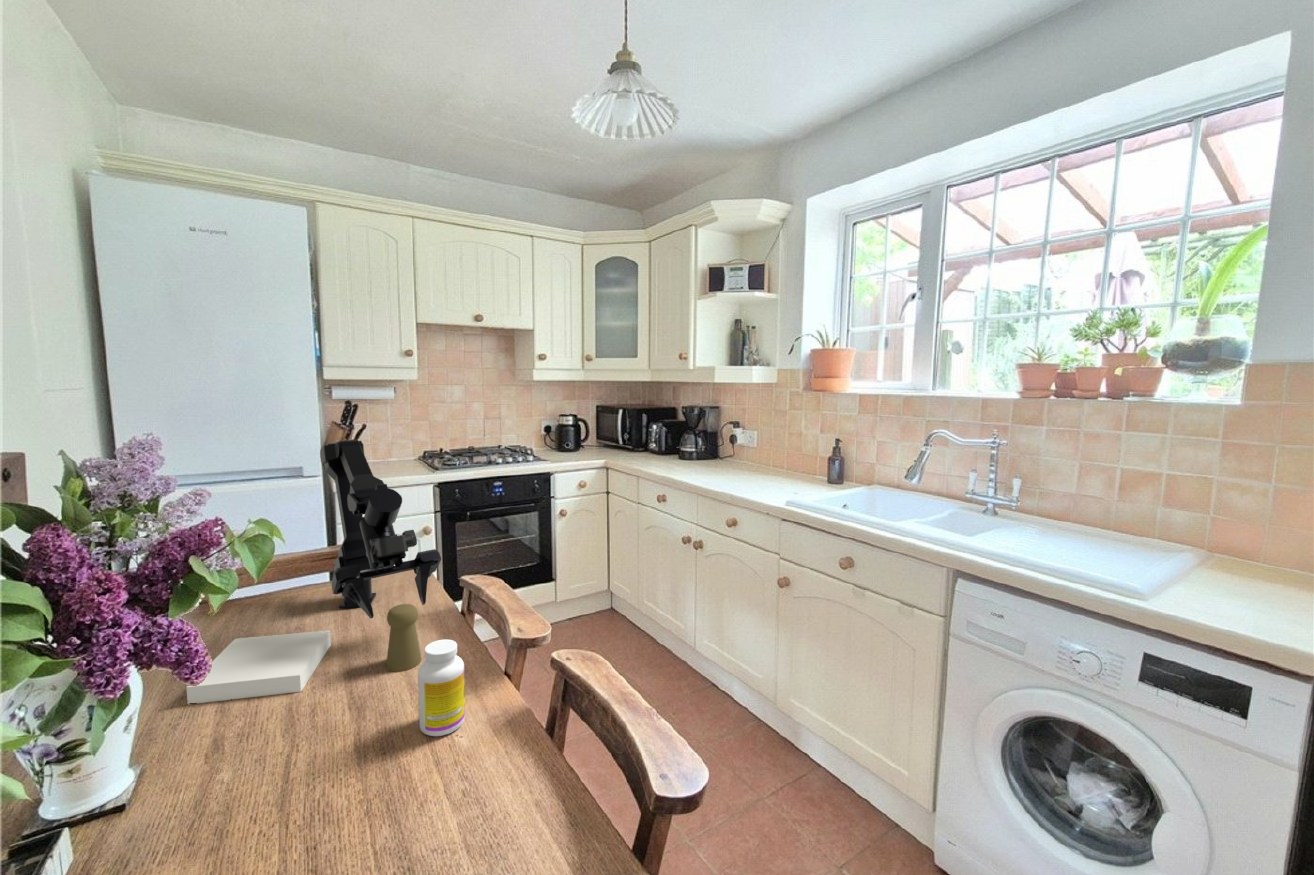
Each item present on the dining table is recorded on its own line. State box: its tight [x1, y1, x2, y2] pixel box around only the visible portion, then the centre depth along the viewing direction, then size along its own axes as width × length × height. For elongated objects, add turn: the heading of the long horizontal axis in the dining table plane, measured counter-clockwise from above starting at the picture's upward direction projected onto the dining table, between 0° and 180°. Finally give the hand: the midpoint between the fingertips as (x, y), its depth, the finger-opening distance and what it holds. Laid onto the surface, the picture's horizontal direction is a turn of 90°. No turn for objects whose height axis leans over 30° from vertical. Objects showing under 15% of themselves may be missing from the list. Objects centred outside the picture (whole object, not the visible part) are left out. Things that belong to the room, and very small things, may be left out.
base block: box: [185, 629, 332, 704], centre depth 95 cm, size 16×16×3 cm
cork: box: [385, 603, 422, 673], centre depth 99 cm, size 6×6×11 cm
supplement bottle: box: [417, 639, 466, 737], centre depth 82 cm, size 7×7×13 cm
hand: (398, 610), depth 100 cm, fingers open, 9 cm apart
